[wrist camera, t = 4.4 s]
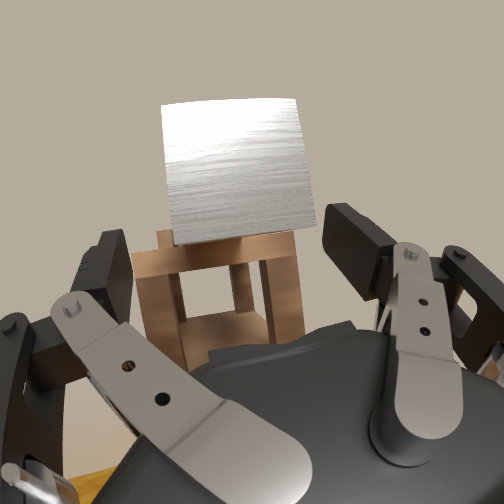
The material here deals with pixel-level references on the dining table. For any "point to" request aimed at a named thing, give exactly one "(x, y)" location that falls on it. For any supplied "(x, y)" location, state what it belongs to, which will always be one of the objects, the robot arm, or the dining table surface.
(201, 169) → the bar
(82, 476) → the dining table surface
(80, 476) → the dining table surface
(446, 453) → the robot arm
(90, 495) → the dining table surface
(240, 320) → the walnut shelf
